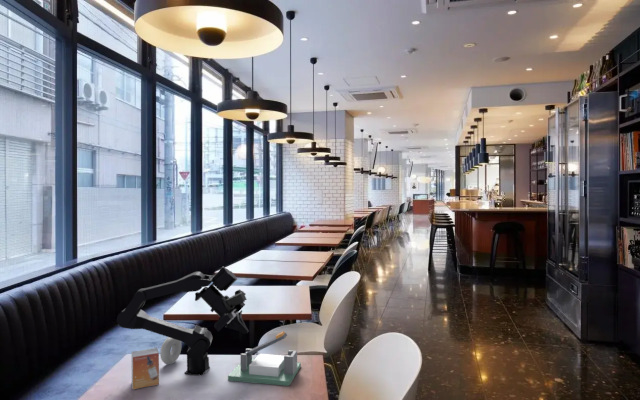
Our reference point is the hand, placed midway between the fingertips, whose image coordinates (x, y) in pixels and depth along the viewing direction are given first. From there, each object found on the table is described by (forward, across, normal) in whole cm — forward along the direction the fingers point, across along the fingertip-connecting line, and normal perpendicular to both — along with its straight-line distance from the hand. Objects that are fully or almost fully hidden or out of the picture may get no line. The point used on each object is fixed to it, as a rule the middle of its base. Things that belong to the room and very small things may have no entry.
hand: (247, 332), depth 142 cm
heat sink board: (+14, -1, +5) cm, 15 cm away
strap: (+8, -1, -1) cm, 8 cm away
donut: (-11, +5, +31) cm, 33 cm away
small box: (-12, -11, +32) cm, 36 cm away
